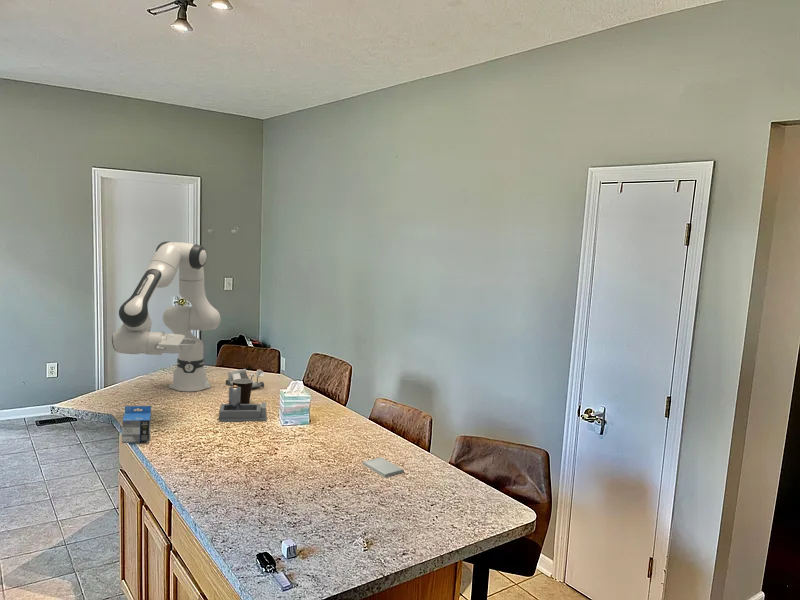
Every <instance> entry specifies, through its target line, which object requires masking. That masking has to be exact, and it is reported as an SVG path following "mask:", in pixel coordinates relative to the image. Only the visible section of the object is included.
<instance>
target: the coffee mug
mask: <svg viewBox="0 0 800 600" xmlns="http://www.w3.org/2000/svg"><path fill="white" fill-rule="evenodd" d="M250 379H251V378H249V379H235V380H233V385H237V386H238V387H241V395H240V404H250V401H251V395H252V383H253V381H254V380H253V379H252V380H250ZM233 385H232V386H233Z"/></svg>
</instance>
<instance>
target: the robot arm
mask: <svg viewBox="0 0 800 600" xmlns="http://www.w3.org/2000/svg"><path fill="white" fill-rule="evenodd" d="M207 260H208V251H207V250H206V248H205V247H204V246H202V245H200V244H194V243H190V242H181V241H180V242H175V241H162V242H161V243H159V244H158V245H157V246H156V249H155V253H154V254H153V256H152V258H151V259H150V260H149V261H150V262H149V264H148V266H147V267H146V270H145V272H144V274H143V276H142V277H141V278H140V281H139V282H138V283H137V285H136V288H135V289H134V291H133V293H132V294H131V296H129V298H128V299H127V300H126V301H124V302H123V304H122V305H120V307H119V309H118V318H119V319H120V321H122V325H120V327H119V328H118V329H117V330H116V331H114V332H113V333H112V336H111V343H112V347H113V350H114V351H115V352H116V353H118V354H124V355H140V354H144V355H149V356H150V355H154V356H155V355H156V356H159V355H160V356H162V354H178V357H177V359H176V368H175V369H174V370H173V374H172V383H170V384H169V385H168V388H169V389H173V390H176V391H179V392H198V391H203V390H207V389H211V388H212V387H211V383H210V382H209V379H208V377H207V372H208V371H207V370H206V369H205V367H204V366H205V360H204V359H205V358H204V342H203V340H201V339H200V338H199V337H197V336H195V335H194V334H193V332H192V331H212V330H216V329H217V328H218V327H219V326H220V323H221V314H220V311H218V309H216V308H215V307H214V306H213V305H212V304H211V303H210V302H209V300H208V298H207V295H206V288H205V272H204V271H205V269H204V266H205V265H206V262H207ZM177 272H178V293H179V296H180V297H181V298H182V299H183V300H186V301H187V302H189V303H190V306H189V305H173V306H172V305H171V306H168V307H167V308H165V310H164V312H163V314H162V321H163V323H164V325H165V326H166V327H167V328H168V329H170V330H171V332H172V333H166V332H165V331H159V332H158V331H151V330H152V329H151V328H152V324H153V323H152V319H151V316H150V314H149V310H148V309H149V308H148V307H149V303H150V302H149V301H150V300H151V298H152V297H153V294H154V292H155V291H156V289H157V288H159V289H162V288H163V289H164V288H167V287H169V286H170V285H171V284H172V282H173V280H174V279H175V277H176V275H177Z"/></svg>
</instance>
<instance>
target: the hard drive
mask: <svg viewBox="0 0 800 600" xmlns="http://www.w3.org/2000/svg"><path fill="white" fill-rule="evenodd" d="M362 465H363V466H364V465H365V467H366V468H368V469H370V470H371V471H373V472H375V473H376V474H378V475H380V476H381V477H383V478H387V477H388V476H389V477H391V476H392V477H393V476H395V475H400V474H402V473H405V469H403V468H401V467H400V466H397V465H396V464H394V463H393V462H390V461H389V460H387V459H385V458H383V457H381V456H380V457H377V458H373V459H368V460H363V462H362Z"/></svg>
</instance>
